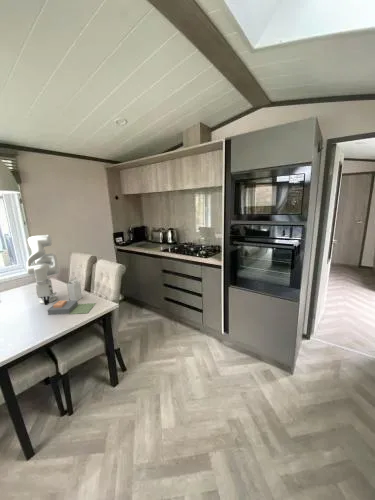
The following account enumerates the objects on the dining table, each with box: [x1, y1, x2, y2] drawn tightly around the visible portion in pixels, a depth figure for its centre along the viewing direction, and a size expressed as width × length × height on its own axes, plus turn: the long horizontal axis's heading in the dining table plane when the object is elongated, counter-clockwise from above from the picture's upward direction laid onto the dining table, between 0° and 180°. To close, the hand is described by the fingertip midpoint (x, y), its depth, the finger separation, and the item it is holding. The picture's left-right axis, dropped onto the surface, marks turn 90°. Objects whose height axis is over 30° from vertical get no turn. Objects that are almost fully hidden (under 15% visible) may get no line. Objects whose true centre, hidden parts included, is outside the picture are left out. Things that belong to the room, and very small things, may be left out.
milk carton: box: [66, 277, 83, 302], centre depth 188 cm, size 7×7×19 cm
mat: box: [68, 302, 96, 315], centre depth 172 cm, size 16×14×1 cm
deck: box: [46, 300, 79, 316], centre depth 172 cm, size 14×16×4 cm
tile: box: [52, 300, 68, 308], centre depth 171 cm, size 8×6×2 cm
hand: (47, 304), depth 170 cm, fingers closed
